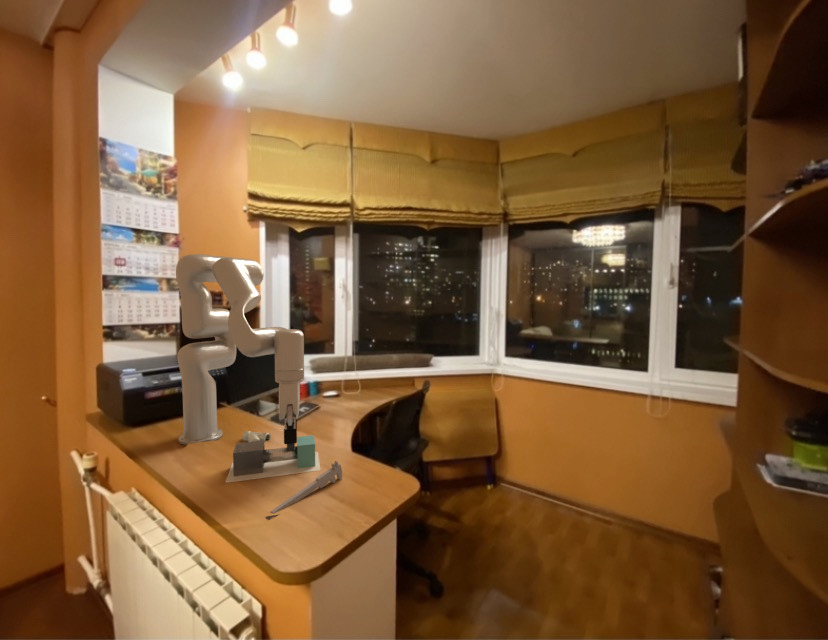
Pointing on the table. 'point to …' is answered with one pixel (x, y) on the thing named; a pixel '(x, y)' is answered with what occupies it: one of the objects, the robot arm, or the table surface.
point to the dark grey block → (248, 458)
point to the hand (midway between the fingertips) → (290, 436)
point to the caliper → (312, 487)
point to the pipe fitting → (255, 436)
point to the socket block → (306, 451)
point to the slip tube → (280, 454)
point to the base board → (275, 470)
